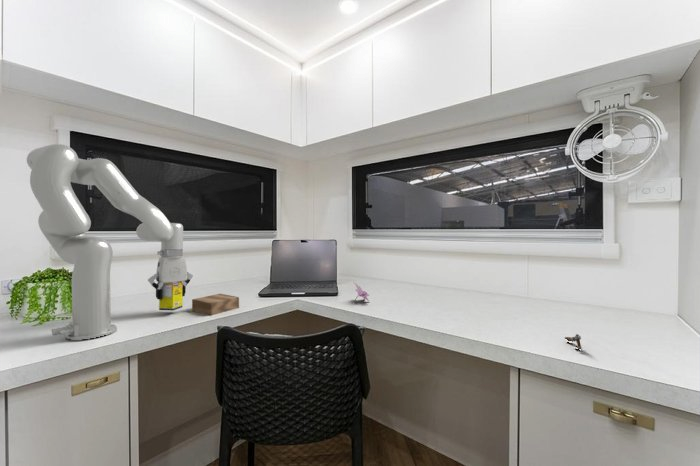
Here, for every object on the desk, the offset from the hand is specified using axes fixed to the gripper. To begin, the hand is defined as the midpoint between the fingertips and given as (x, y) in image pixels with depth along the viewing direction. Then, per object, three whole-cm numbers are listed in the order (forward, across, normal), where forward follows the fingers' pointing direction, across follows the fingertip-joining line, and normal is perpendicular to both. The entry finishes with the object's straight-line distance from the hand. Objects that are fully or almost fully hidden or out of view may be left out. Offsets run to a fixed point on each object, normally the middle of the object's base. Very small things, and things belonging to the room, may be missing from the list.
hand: (171, 297), depth 123 cm
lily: (+5, +60, -52) cm, 80 cm away
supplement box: (+5, 0, 0) cm, 5 cm away
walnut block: (+6, +14, -9) cm, 18 cm away
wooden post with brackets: (+6, +52, -132) cm, 142 cm away
